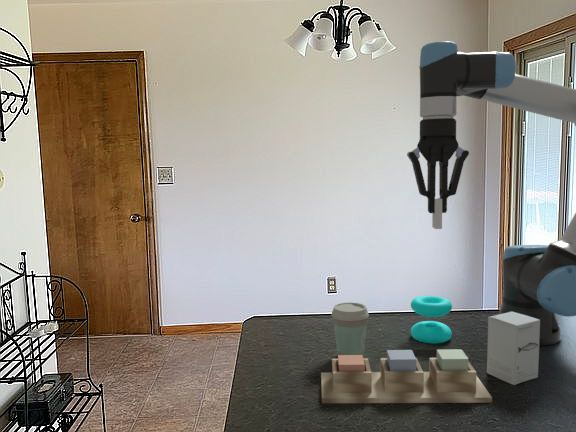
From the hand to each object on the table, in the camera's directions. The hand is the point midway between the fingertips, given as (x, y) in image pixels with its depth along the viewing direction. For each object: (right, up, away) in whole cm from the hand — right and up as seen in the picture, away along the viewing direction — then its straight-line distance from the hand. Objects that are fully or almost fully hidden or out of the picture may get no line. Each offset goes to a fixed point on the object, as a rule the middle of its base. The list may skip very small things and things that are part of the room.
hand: (437, 227), depth 119 cm
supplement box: (+14, -31, -5) cm, 35 cm away
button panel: (-10, -32, -10) cm, 35 cm away
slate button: (-10, -29, -10) cm, 32 cm away
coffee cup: (-18, -30, +8) cm, 36 cm away
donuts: (+4, -28, +19) cm, 34 cm away
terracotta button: (-20, -30, -9) cm, 37 cm away
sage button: (0, -29, -10) cm, 31 cm away
